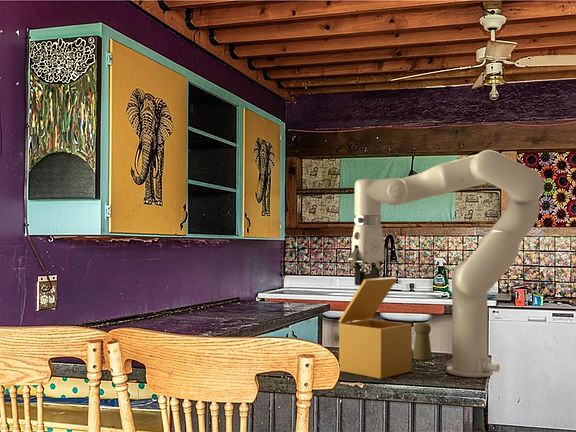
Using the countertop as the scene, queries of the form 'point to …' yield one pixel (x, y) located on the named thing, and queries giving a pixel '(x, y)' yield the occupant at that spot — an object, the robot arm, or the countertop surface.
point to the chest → (375, 348)
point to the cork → (422, 342)
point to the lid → (367, 298)
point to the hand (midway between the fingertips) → (367, 284)
